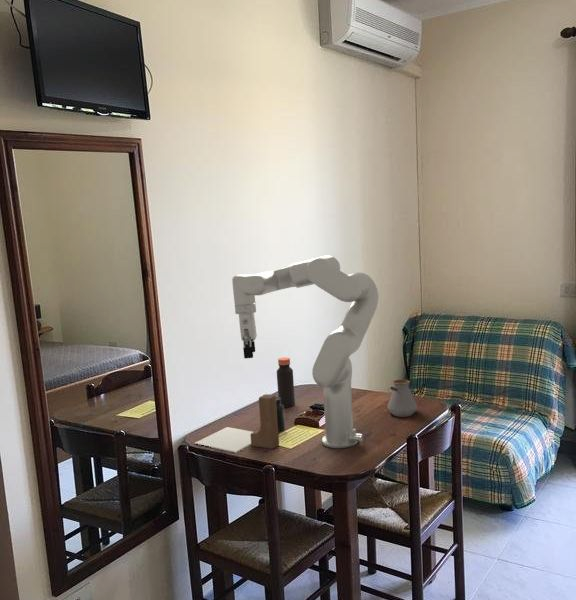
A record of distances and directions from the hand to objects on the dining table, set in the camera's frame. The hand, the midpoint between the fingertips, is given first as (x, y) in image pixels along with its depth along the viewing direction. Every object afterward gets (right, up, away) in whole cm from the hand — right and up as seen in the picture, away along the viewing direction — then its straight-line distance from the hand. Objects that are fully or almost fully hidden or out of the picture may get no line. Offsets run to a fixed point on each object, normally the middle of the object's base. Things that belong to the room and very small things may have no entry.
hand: (249, 355), depth 222 cm
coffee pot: (+56, -25, +10) cm, 62 cm away
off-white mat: (-7, -31, -2) cm, 31 cm away
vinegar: (+13, -24, +35) cm, 44 cm away
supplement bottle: (+9, -29, +6) cm, 31 cm away
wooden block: (+6, -31, -10) cm, 33 cm away
